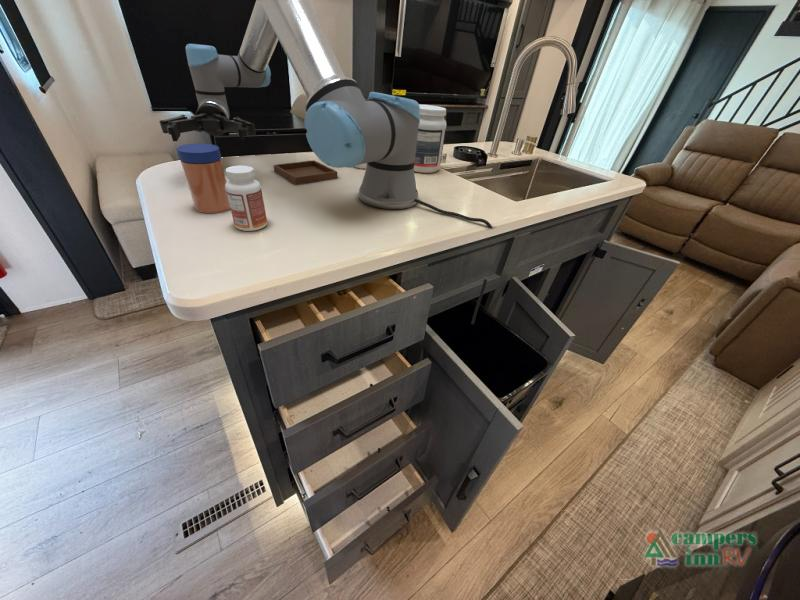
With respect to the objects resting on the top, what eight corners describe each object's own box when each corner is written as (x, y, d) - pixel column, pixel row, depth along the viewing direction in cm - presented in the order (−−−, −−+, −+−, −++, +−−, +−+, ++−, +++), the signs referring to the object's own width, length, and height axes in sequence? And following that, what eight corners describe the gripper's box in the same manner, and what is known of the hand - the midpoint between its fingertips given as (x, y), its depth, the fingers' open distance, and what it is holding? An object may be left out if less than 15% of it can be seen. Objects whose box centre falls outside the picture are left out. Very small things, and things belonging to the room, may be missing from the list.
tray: (337, 178, 94) (337, 171, 93) (296, 184, 87) (295, 177, 86) (314, 166, 102) (314, 160, 101) (274, 171, 94) (273, 164, 93)
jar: (237, 209, 71) (224, 153, 64) (201, 215, 67) (183, 156, 60) (225, 198, 75) (212, 145, 68) (191, 204, 71) (173, 147, 64)
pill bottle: (265, 217, 69) (256, 163, 62) (269, 230, 64) (259, 173, 58) (234, 220, 67) (220, 164, 60) (235, 233, 62) (221, 174, 55)
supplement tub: (411, 161, 117) (417, 102, 106) (444, 168, 113) (454, 108, 102) (396, 168, 108) (400, 105, 96) (431, 176, 104) (440, 111, 93)
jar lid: (226, 160, 65) (224, 150, 64) (185, 165, 61) (182, 154, 60) (214, 152, 69) (211, 142, 68) (174, 155, 65) (171, 145, 64)
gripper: (264, 134, 94) (269, 153, 79) (164, 132, 86) (148, 152, 71) (259, 104, 90) (264, 118, 75) (153, 99, 81) (134, 113, 66)
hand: (208, 135), depth 73 cm, fingers open, 13 cm apart
